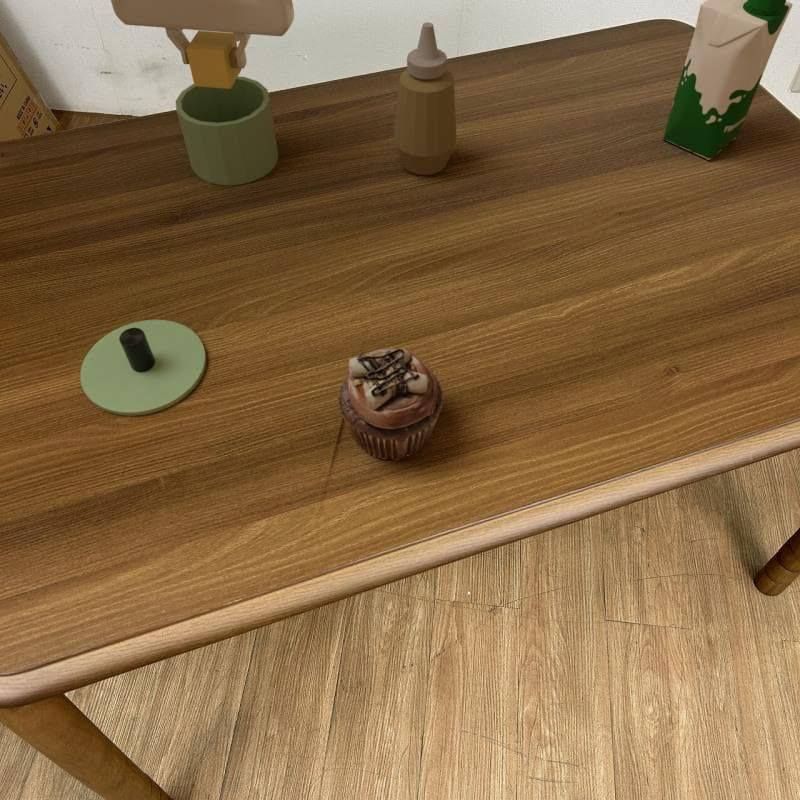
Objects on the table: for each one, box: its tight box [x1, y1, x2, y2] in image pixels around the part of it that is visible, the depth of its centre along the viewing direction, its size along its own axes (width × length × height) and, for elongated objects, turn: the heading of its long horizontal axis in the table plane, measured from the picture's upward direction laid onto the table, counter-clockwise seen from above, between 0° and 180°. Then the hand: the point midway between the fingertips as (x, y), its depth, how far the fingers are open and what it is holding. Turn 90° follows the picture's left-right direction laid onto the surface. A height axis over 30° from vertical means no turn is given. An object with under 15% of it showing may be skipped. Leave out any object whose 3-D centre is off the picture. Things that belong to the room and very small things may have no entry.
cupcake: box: [337, 348, 445, 461], centre depth 68 cm, size 10×10×10 cm
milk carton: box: [662, 0, 794, 158], centre depth 93 cm, size 9×9×20 cm
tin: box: [175, 75, 279, 186], centre depth 95 cm, size 11×11×8 cm
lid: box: [79, 319, 207, 417], centre depth 74 cm, size 12×12×5 cm
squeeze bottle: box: [393, 21, 458, 176], centre depth 91 cm, size 8×8×18 cm
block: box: [186, 30, 242, 89], centre depth 88 cm, size 4×4×4 cm
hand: (215, 64), depth 88 cm, fingers closed on block, 4 cm apart
